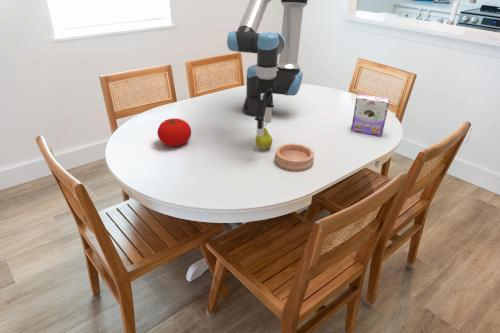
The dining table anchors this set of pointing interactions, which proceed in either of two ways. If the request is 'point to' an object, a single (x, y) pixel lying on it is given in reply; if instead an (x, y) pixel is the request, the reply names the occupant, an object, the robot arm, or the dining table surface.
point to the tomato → (174, 132)
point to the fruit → (264, 140)
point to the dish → (294, 157)
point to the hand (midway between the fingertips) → (263, 128)
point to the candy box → (370, 114)
